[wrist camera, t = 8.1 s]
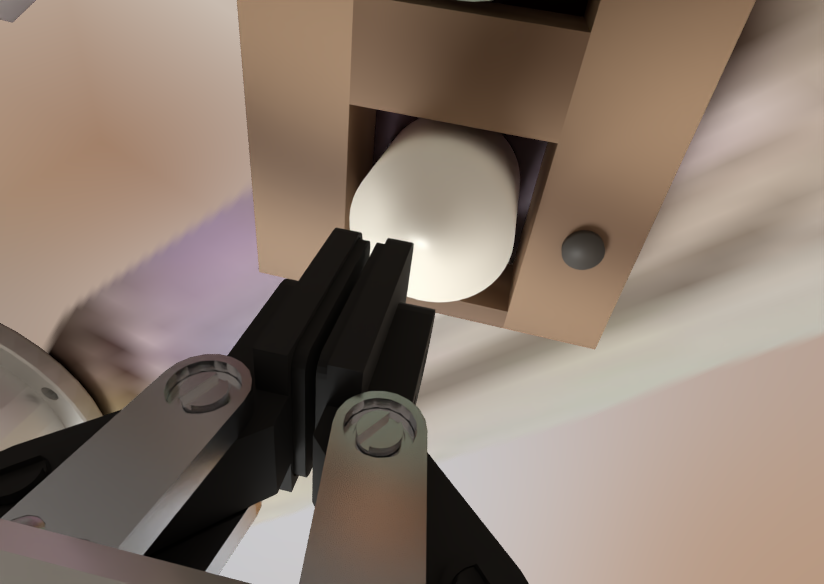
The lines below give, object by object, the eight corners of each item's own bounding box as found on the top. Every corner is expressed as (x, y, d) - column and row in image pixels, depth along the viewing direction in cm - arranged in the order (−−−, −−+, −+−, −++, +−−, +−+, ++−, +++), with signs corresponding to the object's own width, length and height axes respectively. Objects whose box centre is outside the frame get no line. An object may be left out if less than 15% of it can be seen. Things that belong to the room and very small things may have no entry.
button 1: (502, 254, 15) (493, 317, 13) (378, 228, 16) (346, 283, 13) (537, 126, 13) (534, 172, 10) (389, 99, 13) (353, 136, 11)
